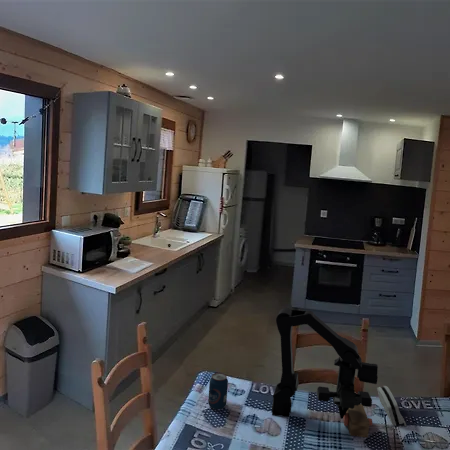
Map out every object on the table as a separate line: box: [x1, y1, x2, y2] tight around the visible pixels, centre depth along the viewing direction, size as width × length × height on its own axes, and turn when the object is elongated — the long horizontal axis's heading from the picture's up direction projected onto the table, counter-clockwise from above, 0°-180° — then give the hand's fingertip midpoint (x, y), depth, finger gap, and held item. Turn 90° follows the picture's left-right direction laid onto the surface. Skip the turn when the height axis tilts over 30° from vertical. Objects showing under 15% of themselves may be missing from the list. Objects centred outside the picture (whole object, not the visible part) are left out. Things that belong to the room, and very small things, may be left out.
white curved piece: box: [376, 385, 407, 427], centre depth 171 cm, size 17×5×10 cm, turn 177°
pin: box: [342, 413, 373, 427], centre depth 160 cm, size 10×4×4 cm, turn 85°
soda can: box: [207, 372, 229, 410], centre depth 167 cm, size 7×7×12 cm
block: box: [346, 404, 370, 439], centre depth 160 cm, size 6×12×6 cm, turn 175°
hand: (341, 418), depth 161 cm, fingers closed
